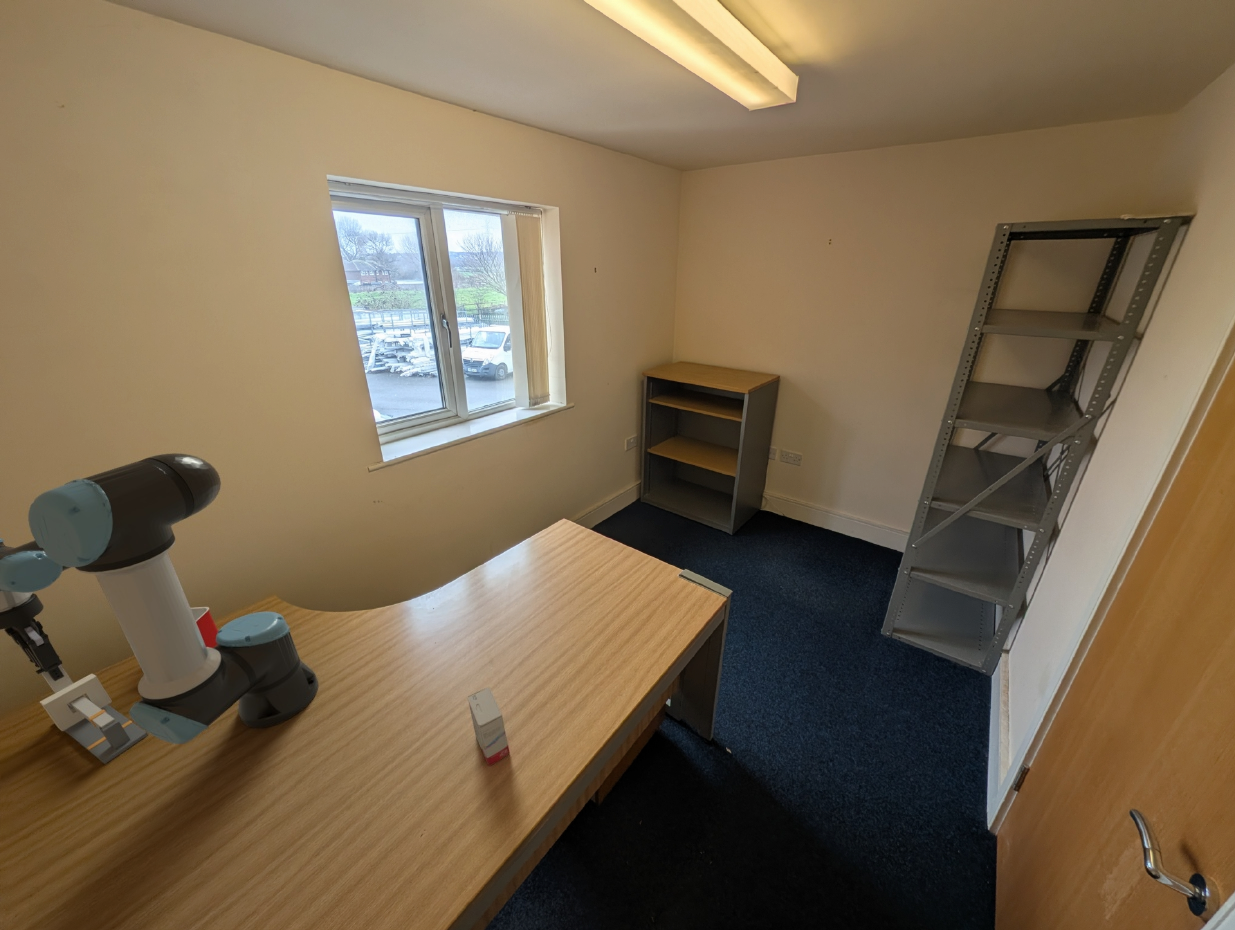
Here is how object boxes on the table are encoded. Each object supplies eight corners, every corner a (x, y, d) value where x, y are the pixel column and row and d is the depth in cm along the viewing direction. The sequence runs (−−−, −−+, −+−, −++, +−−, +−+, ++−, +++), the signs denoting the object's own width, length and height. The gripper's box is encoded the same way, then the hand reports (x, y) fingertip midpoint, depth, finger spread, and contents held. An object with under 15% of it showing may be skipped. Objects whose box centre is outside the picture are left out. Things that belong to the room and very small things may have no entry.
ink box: (510, 754, 94) (504, 715, 90) (486, 768, 92) (479, 728, 87) (496, 723, 101) (490, 684, 96) (473, 734, 98) (466, 696, 94)
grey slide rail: (148, 734, 99) (134, 711, 96) (104, 764, 93) (88, 740, 90) (97, 698, 107) (83, 676, 104) (54, 722, 101) (38, 700, 98)
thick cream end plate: (112, 701, 104) (96, 676, 101) (62, 731, 97) (43, 705, 94) (107, 698, 105) (92, 673, 102) (58, 727, 98) (39, 701, 95)
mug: (226, 636, 125) (212, 606, 121) (203, 660, 118) (188, 628, 113) (179, 639, 124) (164, 609, 120) (154, 663, 117) (137, 631, 113)
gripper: (47, 600, 92) (100, 684, 101) (21, 584, 97) (74, 665, 106) (-11, 624, 85) (52, 711, 95) (-36, 605, 90) (25, 690, 100)
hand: (63, 687), depth 100 cm, fingers closed
